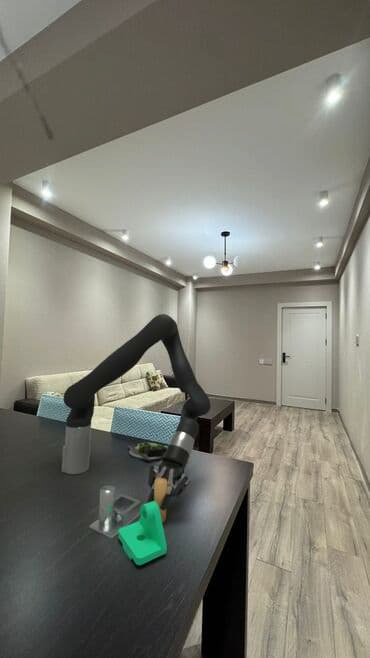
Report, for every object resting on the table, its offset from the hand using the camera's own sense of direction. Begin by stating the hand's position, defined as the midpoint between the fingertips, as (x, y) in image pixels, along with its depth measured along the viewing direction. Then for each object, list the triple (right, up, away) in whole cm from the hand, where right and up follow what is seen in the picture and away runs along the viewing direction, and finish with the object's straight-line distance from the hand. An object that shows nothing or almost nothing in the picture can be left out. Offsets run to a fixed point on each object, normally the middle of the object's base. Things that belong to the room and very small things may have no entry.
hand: (156, 506), depth 82 cm
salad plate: (-7, -6, +47) cm, 48 cm away
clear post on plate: (-11, -4, 0) cm, 12 cm away
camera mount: (-3, -5, -10) cm, 11 cm away
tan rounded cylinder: (+1, -5, +2) cm, 5 cm away
